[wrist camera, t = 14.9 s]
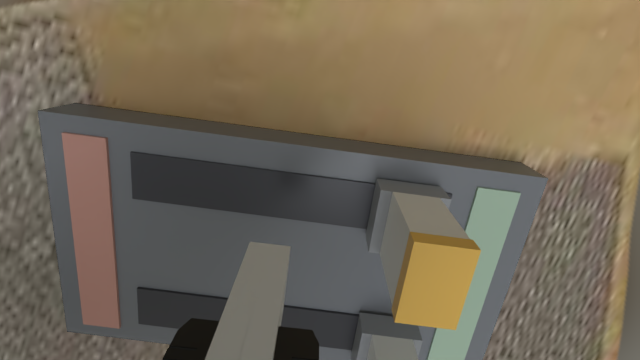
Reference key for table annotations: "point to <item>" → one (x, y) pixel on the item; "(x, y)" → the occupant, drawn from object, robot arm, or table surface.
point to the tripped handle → (421, 253)
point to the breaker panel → (261, 228)
